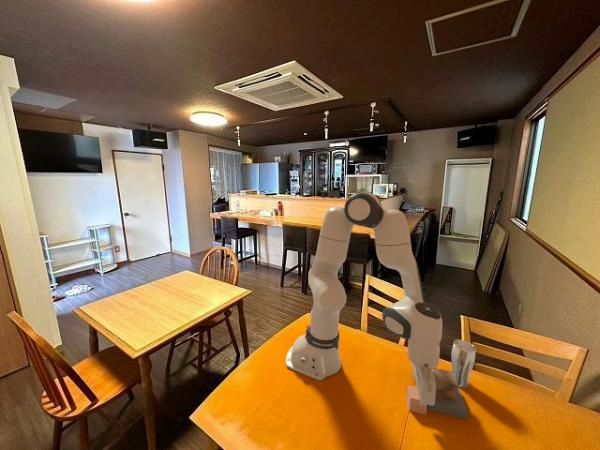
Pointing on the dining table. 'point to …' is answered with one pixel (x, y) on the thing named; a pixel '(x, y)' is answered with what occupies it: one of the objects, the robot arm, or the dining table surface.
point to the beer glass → (462, 361)
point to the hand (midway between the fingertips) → (419, 390)
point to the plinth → (450, 406)
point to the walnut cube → (445, 384)
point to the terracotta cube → (415, 401)
